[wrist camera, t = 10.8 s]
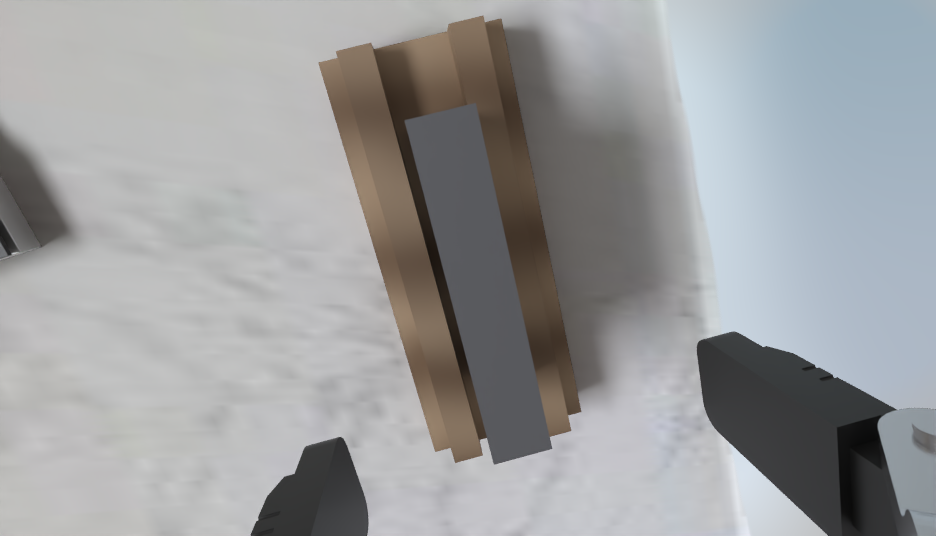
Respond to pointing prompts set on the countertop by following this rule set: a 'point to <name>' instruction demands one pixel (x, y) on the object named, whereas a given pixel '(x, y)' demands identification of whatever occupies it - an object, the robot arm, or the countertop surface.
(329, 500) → the robot arm
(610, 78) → the countertop surface
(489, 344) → the grey photo frame
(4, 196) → the picture frame
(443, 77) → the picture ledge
